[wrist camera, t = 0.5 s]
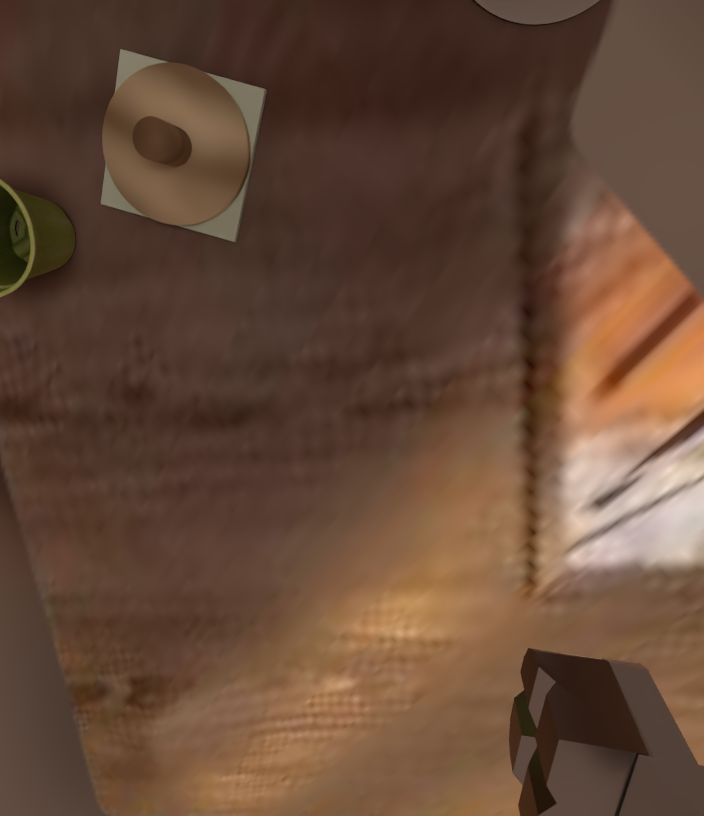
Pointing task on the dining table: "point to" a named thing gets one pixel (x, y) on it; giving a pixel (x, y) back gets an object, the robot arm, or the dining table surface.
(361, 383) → the dining table surface
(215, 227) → the mat
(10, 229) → the plant pot
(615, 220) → the dining table surface
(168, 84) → the lid
